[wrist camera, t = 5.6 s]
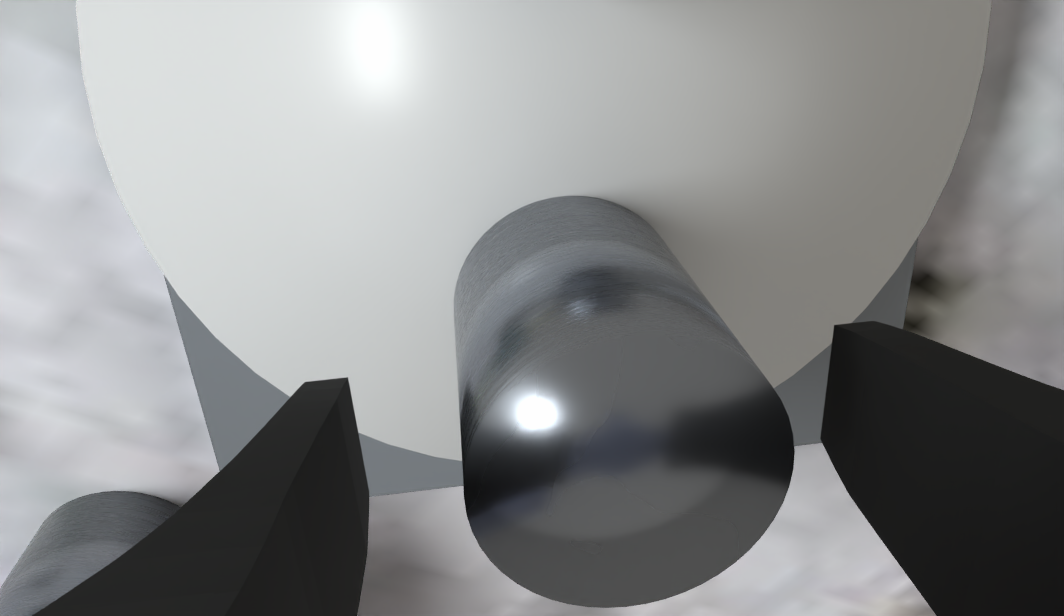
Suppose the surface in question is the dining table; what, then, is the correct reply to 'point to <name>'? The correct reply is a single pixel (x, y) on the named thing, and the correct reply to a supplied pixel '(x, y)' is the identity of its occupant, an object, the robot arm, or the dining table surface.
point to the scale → (513, 176)
